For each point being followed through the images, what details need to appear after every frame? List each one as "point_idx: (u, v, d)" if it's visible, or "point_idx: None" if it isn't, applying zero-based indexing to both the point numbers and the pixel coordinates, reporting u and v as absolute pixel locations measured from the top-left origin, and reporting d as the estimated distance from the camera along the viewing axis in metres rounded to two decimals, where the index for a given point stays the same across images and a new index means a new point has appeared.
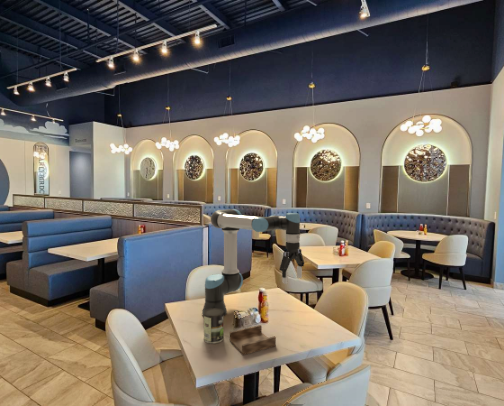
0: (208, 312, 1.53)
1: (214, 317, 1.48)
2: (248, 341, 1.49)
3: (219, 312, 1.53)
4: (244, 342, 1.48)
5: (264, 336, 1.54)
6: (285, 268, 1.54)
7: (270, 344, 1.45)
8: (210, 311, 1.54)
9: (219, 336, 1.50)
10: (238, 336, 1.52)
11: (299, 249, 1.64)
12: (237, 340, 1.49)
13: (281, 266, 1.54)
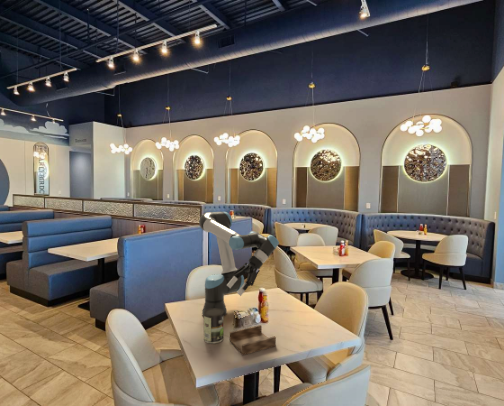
0: (208, 312, 1.53)
1: (214, 317, 1.48)
2: (248, 341, 1.49)
3: (219, 312, 1.53)
4: (244, 342, 1.48)
5: (264, 336, 1.54)
6: None
7: (270, 344, 1.45)
8: (210, 311, 1.54)
9: (219, 336, 1.50)
10: (238, 336, 1.52)
11: (248, 264, 1.68)
12: (237, 340, 1.49)
13: (252, 280, 1.52)
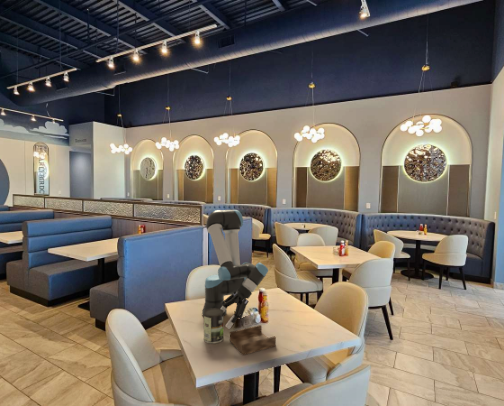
0: (208, 312, 1.53)
1: (214, 317, 1.48)
2: (248, 341, 1.49)
3: (219, 312, 1.53)
4: (244, 342, 1.48)
5: (264, 336, 1.54)
6: None
7: (270, 344, 1.45)
8: (210, 311, 1.54)
9: (219, 336, 1.50)
10: (238, 336, 1.52)
11: None
12: (237, 340, 1.49)
13: (240, 313, 1.47)
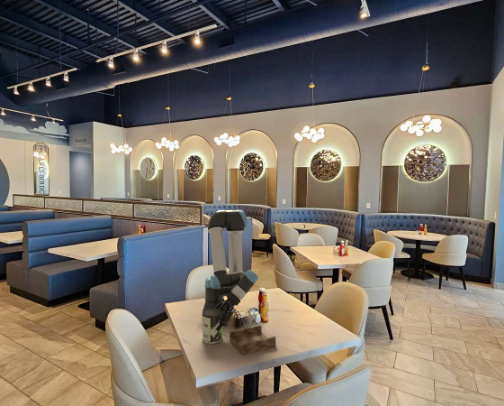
0: (207, 312, 1.52)
1: (214, 317, 1.48)
2: (248, 341, 1.49)
3: (218, 312, 1.52)
4: (244, 342, 1.48)
5: (264, 336, 1.54)
6: None
7: (270, 344, 1.45)
8: (208, 311, 1.54)
9: (218, 336, 1.50)
10: (238, 336, 1.52)
11: (225, 301, 1.62)
12: (237, 340, 1.49)
13: (225, 321, 1.47)
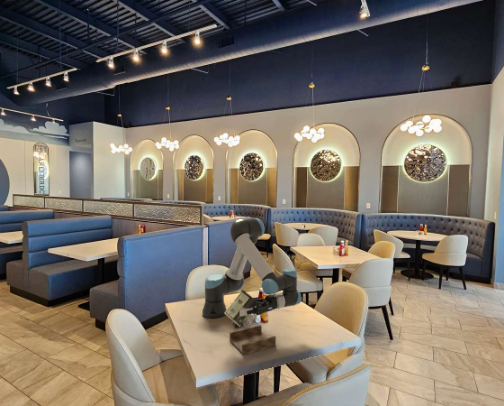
0: None
1: (252, 300, 1.42)
2: (248, 341, 1.49)
3: None
4: (244, 342, 1.48)
5: (264, 336, 1.54)
6: None
7: (270, 344, 1.45)
8: None
9: (242, 320, 1.40)
10: (238, 336, 1.52)
11: None
12: (237, 340, 1.49)
13: (260, 311, 1.41)
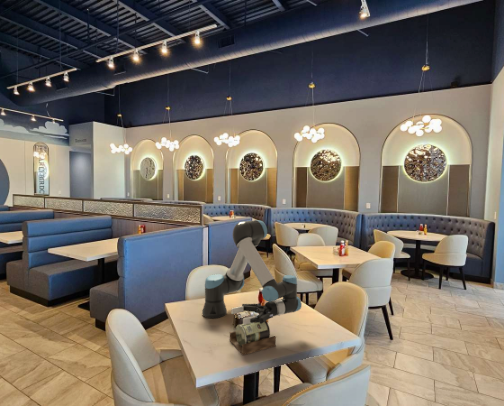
0: None
1: (268, 333, 1.46)
2: None
3: None
4: None
5: None
6: None
7: (270, 344, 1.45)
8: None
9: None
10: None
11: None
12: None
13: (263, 318, 1.40)
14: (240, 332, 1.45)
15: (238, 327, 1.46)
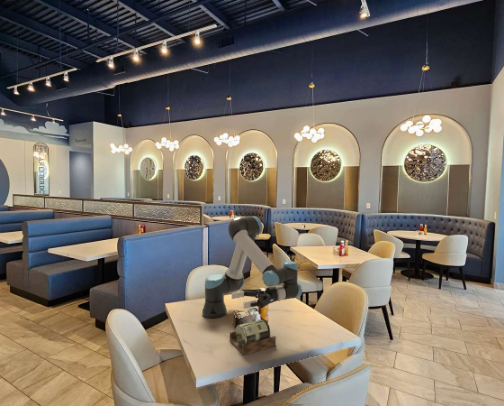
0: None
1: (268, 334, 1.46)
2: None
3: None
4: None
5: None
6: None
7: (270, 344, 1.45)
8: None
9: None
10: None
11: None
12: None
13: (264, 303, 1.40)
14: (240, 332, 1.45)
15: (238, 327, 1.45)
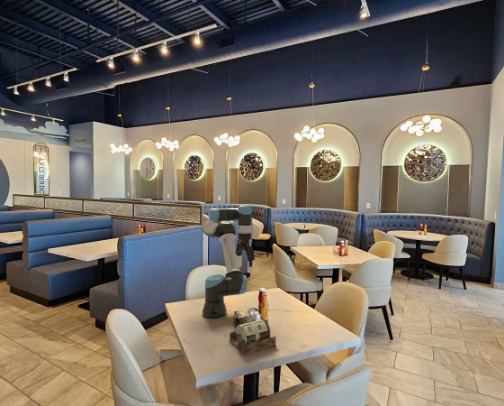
0: None
1: (268, 334, 1.46)
2: None
3: None
4: None
5: None
6: (237, 252, 1.75)
7: (270, 344, 1.45)
8: None
9: None
10: None
11: (248, 242, 1.63)
12: None
13: None
14: (240, 332, 1.45)
15: (238, 327, 1.45)
